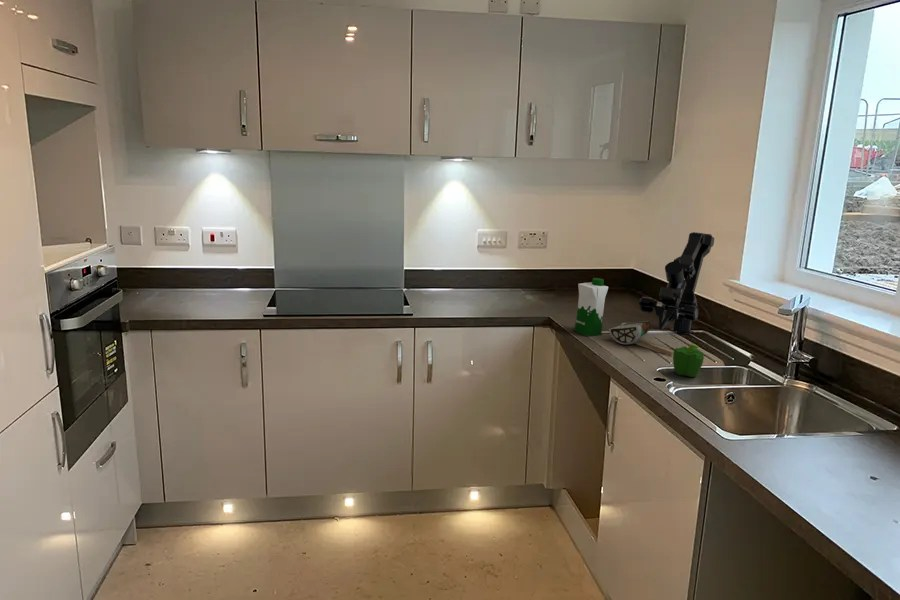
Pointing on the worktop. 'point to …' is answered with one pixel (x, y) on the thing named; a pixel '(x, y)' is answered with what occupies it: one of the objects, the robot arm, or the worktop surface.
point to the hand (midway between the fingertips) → (660, 328)
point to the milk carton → (591, 307)
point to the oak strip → (654, 347)
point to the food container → (629, 332)
